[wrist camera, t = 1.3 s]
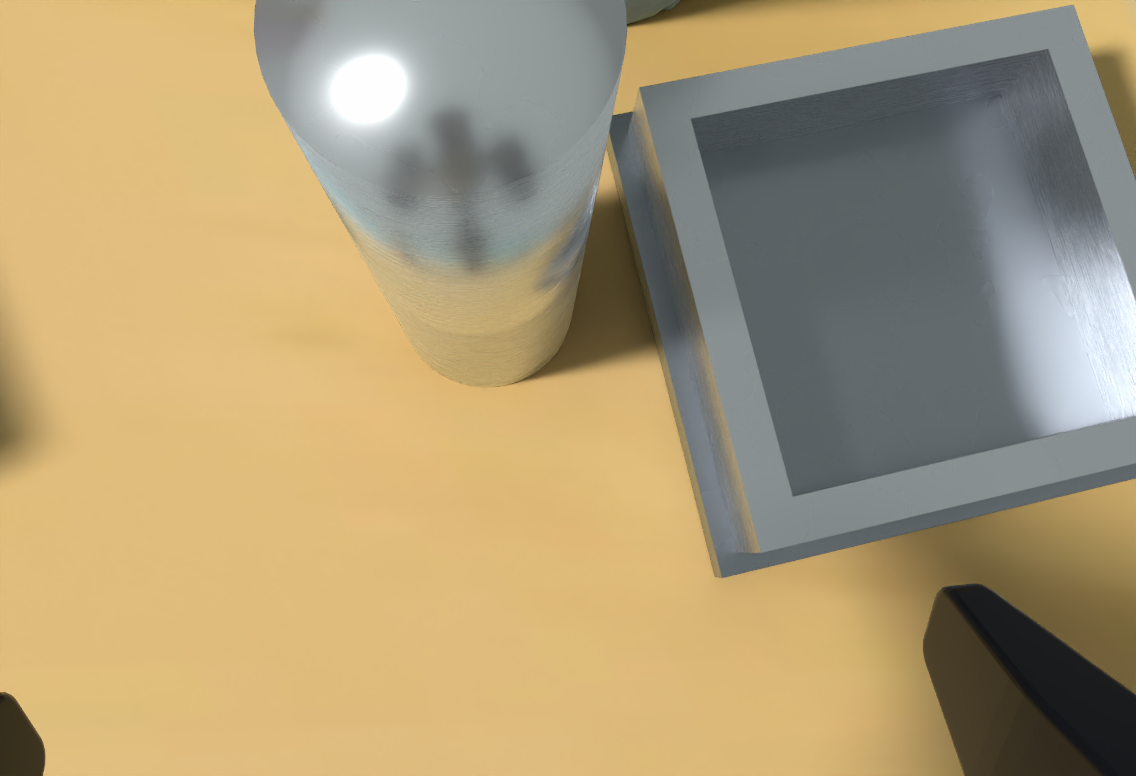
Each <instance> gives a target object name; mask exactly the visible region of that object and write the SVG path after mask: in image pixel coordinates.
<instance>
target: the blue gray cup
mask: <svg viewBox="0 0 1136 776" xmlns="http://www.w3.org/2000/svg"><path fill="white" fill-rule="evenodd" d="M624 1H625V6H626V19H627V24H630V23H633V22H636V21H640V20H643V19H646V18H650V17H653V16H654V15H656V14H657V13H658V12H660V11H661V10H671V9H672V8H673V7H674V6H675V5H677V4H678V3H679V2H680V0H624Z"/></svg>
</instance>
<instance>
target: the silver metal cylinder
mask: <svg viewBox="0 0 1136 776" xmlns="http://www.w3.org/2000/svg"><path fill="white" fill-rule="evenodd" d="M254 35H255V44H256V53H257V57H258V61H259V65H260V69H261V72H262V76H263V78H264V81H265V83H266V85H267V88H268V90H269V92H270V95H271V97H272V99H273V101H274V102H275V104H276V106H277V108H278V109H279V111H280V113H281V115H282V116H283V118H284V120H285V122H286V123H287V125H288V127H289V129H290V131H291V132H292V134H293V136H294V138H295V139H296V141H297V143H298V145H299V146H300V148H301V150H302V152H303V153H304V155H305V157H306V159H307V161H308V162H309V164H310V166H311V168H312V169H313V171H314V173H315V175H316V176H317V178H318V180H319V182H320V183H321V185H322V187H323V189H324V191H325V192H326V194H327V196H328V198H329V199H330V201H331V203H332V205H333V206H334V208H335V210H336V212H337V213H338V215H339V217H340V219H341V221H342V222H343V224H344V226H345V228H346V229H347V231H348V233H349V235H350V236H351V238H352V240H353V242H354V243H355V245H356V247H357V249H358V251H359V252H360V254H361V256H362V258H363V259H364V261H365V263H366V265H367V266H368V268H369V270H370V272H371V273H372V275H373V277H374V279H375V281H376V282H377V284H378V286H379V288H380V289H381V291H382V293H383V295H384V296H385V298H386V300H387V302H388V303H389V305H390V307H391V309H392V311H393V312H394V314H395V316H396V318H397V319H398V321H399V323H400V325H401V326H402V328H403V330H404V332H405V333H406V335H407V337H408V339H409V340H410V342H411V344H412V346H413V347H414V349H415V351H416V352H417V353H418V354H419V356H420V357H421V358H422V359H423V360H424V361H425V362H426V363H427V364H428V365H429V366H430V367H431V368H432V369H434V370H435V371H437V372H438V373H439V374H441V375H443V376H445V377H447V378H448V379H450V380H453V381H456V382H458V383H461V384H465V385H469V386H476V387H498V386H504V385H508V384H512V383H515V382H518V381H520V380H523V379H525V378H527V377H529V376H531V375H532V374H534V373H536V372H537V371H538V370H540V369H541V368H542V367H544V366H545V365H546V364H547V363H548V362H549V361H550V360H551V359H552V358H553V357H554V355H555V354H556V353H557V351H558V350H559V349H560V347H561V345H562V343H563V342H564V340H565V338H566V335H567V333H568V330H569V327H570V323H571V319H572V314H573V309H574V304H575V299H576V294H577V289H578V284H579V279H580V274H581V269H582V264H583V259H584V254H585V249H586V244H587V239H588V234H589V229H590V224H591V219H592V214H593V209H594V204H595V199H596V194H597V189H598V184H599V179H600V174H601V169H602V164H603V159H604V154H605V149H606V144H607V139H608V134H609V129H610V124H611V119H612V114H613V109H614V104H615V99H616V94H617V89H618V84H619V80H620V75H621V70H622V65H623V60H624V55H625V46H626V36H627V19H626V6H625V1H624V0H256V5H255V18H254Z"/></svg>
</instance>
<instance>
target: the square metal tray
mask: <svg viewBox="0 0 1136 776" xmlns="http://www.w3.org/2000/svg"><path fill="white" fill-rule="evenodd" d="M606 147H607V151H608V155H609V159H610V163H611V167H612V171H613V175H614V179H615V183H616V187H617V191H618V195H619V198H620V202H621V206H622V210H623V214H624V218H625V222H626V226H627V230H628V234H629V238H630V242H631V246H632V250H633V254H634V258H635V262H636V266H637V270H638V274H639V278H640V282H641V286H642V290H643V294H644V298H645V302H646V306H647V309H648V313H649V317H650V321H651V325H652V329H653V333H654V337H655V341H656V345H657V349H658V353H659V357H660V361H661V365H662V369H663V373H664V377H665V381H666V385H667V389H668V393H669V397H670V401H671V405H672V409H673V413H674V417H675V421H676V424H677V428H678V432H679V436H680V440H681V444H682V448H683V452H684V456H685V460H686V464H687V468H688V472H689V476H690V480H691V484H692V488H693V492H694V496H695V500H696V504H697V508H698V512H699V516H700V520H701V524H702V528H703V532H704V536H705V539H706V543H707V547H708V551H709V555H710V559H711V563H712V567H713V571H714V575H715V577H719V578H724V577H728V576H732V575H737V574H741V573H745V572H749V571H753V570H757V569H761V568H766V567H770V566H774V565H778V564H782V563H786V562H790V561H795V560H799V559H803V558H807V557H811V556H815V555H820V554H824V553H828V552H832V551H836V550H840V549H844V548H849V547H853V546H857V545H861V544H865V543H869V542H873V541H878V540H882V539H886V538H890V537H894V536H898V535H902V534H907V533H911V532H915V531H919V530H923V529H927V528H931V527H936V526H940V525H944V524H948V523H952V522H956V521H961V520H965V519H969V518H973V517H977V516H981V515H985V514H990V513H994V512H998V511H1002V510H1006V509H1010V508H1014V507H1019V506H1023V505H1027V504H1031V503H1035V502H1039V501H1043V500H1048V499H1052V498H1056V497H1060V496H1064V495H1068V494H1072V493H1077V492H1081V491H1085V490H1089V489H1093V488H1097V487H1102V486H1106V485H1110V484H1114V483H1118V482H1122V481H1126V480H1131V479H1135V478H1136V180H1135V177H1134V174H1133V171H1132V168H1131V166H1130V163H1129V160H1128V157H1127V154H1126V151H1125V149H1124V146H1123V143H1122V140H1121V137H1120V135H1119V132H1118V129H1117V126H1116V123H1115V120H1114V118H1113V115H1112V112H1111V109H1110V106H1109V103H1108V101H1107V98H1106V95H1105V92H1104V89H1103V87H1102V84H1101V81H1100V78H1099V75H1098V72H1097V70H1096V67H1095V64H1094V61H1093V58H1092V56H1091V53H1090V50H1089V47H1088V44H1087V41H1086V39H1085V36H1084V33H1083V30H1082V27H1081V24H1080V22H1079V19H1078V16H1077V13H1076V10H1075V8H1074V5H1069V6H1064V7H1059V8H1054V9H1048V10H1043V11H1038V12H1033V13H1027V14H1022V15H1017V16H1012V17H1006V18H1001V19H996V20H991V21H985V22H980V23H975V24H970V25H965V26H959V27H954V28H949V29H944V30H938V31H933V32H928V33H923V34H917V35H912V36H907V37H902V38H896V39H891V40H886V41H881V42H876V43H870V44H865V45H860V46H855V47H849V48H844V49H839V50H834V51H828V52H823V53H818V54H813V55H807V56H802V57H797V58H792V59H786V60H781V61H776V62H771V63H766V64H760V65H755V66H750V67H745V68H739V69H734V70H729V71H724V72H718V73H713V74H708V75H703V76H697V77H692V78H687V79H682V80H677V81H671V82H666V83H661V84H656V85H650V86H645V87H640V88H639V90H638V94H637V98H636V102H635V106H634V110H633V112H628V113H623V114H617V115H612V119H611V124H610V129H609V134H608V139H607V144H606Z"/></svg>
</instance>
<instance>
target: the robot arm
mask: <svg viewBox="0 0 1136 776" xmlns="http://www.w3.org/2000/svg"><path fill="white" fill-rule="evenodd" d="M923 653H924V659H925V663H926V666H927V669H928V672H929V675H930V677H931V680H932V683H933V686H934V689H935V692H936V695H937V698H938V701H939V703H940V706H941V709H942V712H943V715H944V718H945V721H946V724H947V727H948V729H949V732H950V735H951V738H952V741H953V744H954V747H955V750H956V753H957V755H958V758H959V761H960V764H961V767H962V770H963V773H964V776H1136V694H1135V693H1133V692H1132V691H1131V690H1129V689H1128V688H1126V687H1125V686H1124V685H1122V684H1121V683H1120V682H1118V681H1117V680H1115V679H1114V678H1113V677H1111V676H1110V675H1109V674H1107V673H1106V672H1104V671H1103V670H1102V669H1100V668H1099V667H1097V666H1096V665H1095V664H1093V663H1092V662H1091V661H1089V660H1088V659H1086V658H1085V657H1084V656H1082V655H1081V654H1080V653H1078V652H1077V651H1075V650H1074V649H1073V648H1071V647H1070V646H1068V645H1067V644H1066V643H1064V642H1063V641H1062V640H1060V639H1059V638H1057V637H1056V636H1055V635H1053V634H1052V633H1051V632H1049V631H1048V630H1046V629H1045V628H1044V627H1042V626H1041V625H1039V624H1038V623H1037V622H1035V621H1034V620H1033V619H1031V618H1030V617H1028V616H1027V615H1026V614H1024V613H1023V612H1022V611H1020V610H1019V609H1017V608H1016V607H1015V606H1013V605H1012V604H1010V603H1009V602H1008V601H1006V600H1005V599H1004V598H1002V597H1001V596H999V595H998V594H997V593H995V592H994V591H993V590H991V589H989V588H988V587H986V586H983V585H981V584H966V585H957V586H948V587H944V588H942V589H941V590H940V591H939V592H938V593H937V595H936V598H935V601H934V604H933V608H932V611H931V615H930V618H929V621H928V625H927V628H926V632H925V635H924V640H923ZM44 767H45V749H44V745H43V741H42V739H41V737H40V736H39V734H38V733H37V731H36V730H35V728H34V727H33V725H32V724H31V722H30V720H29V719H28V717H27V716H26V714H25V713H24V711H23V710H22V708H21V707H20V705H19V703H18V702H17V700H16V699H15V698H14V697H13V696H12V695H10V694H8V693H6V692H0V776H43V772H44Z"/></svg>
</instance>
